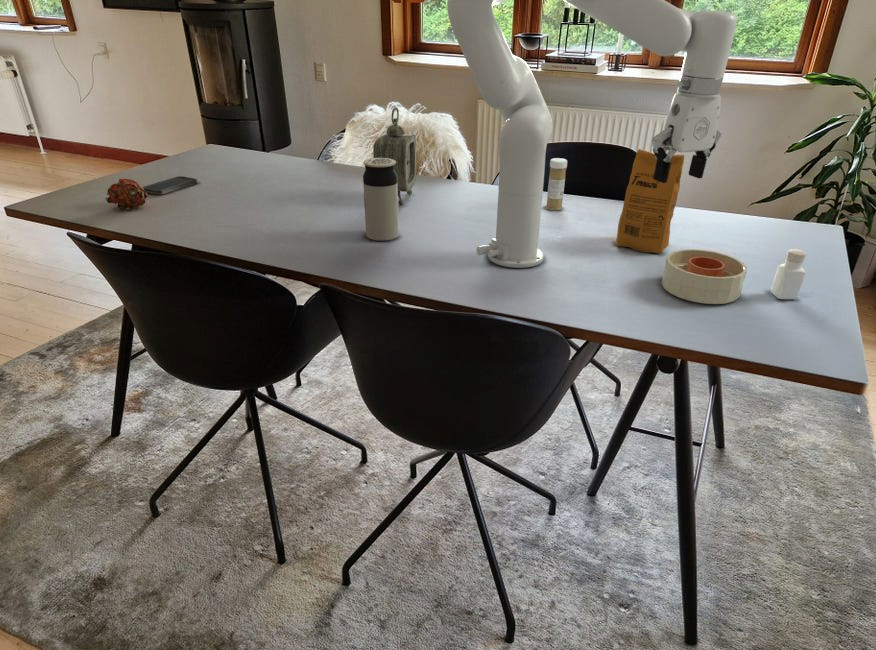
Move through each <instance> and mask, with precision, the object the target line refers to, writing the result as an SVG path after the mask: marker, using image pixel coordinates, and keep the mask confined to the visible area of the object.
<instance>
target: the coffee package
mask: <svg viewBox="0 0 876 650" xmlns="http://www.w3.org/2000/svg"><path fill="white" fill-rule="evenodd" d="M669 162H671V167H670V171H669V176H668V180H667V182H666V183H662V182H659V181H657V180H654V179H653V177H654V172H655V167H656V163H657V159H655V154H654V152H650V151H647V150H642V149H641V148H638V149H637V150H636V154H635V158H634V160H633V164H632V169H631V173H630V176H629V182H628V185H627V187H626V190H625V196H624V201H623V206H622V210H621V213H620V215H619V219H618V224H617V231H616V238H615V245H616V246H617V247H623V248H630V249H632V250H634V251H636V252H641V253H648V254H649V253H651V254H662V253H663V251H664V250H666V249H667V247H668V246H669V244H670V236H671V221H672V219H673V218H674V213H675V212H674V211H675V208H676V205H677V201H678V196H679V193H680V192H679V191H680V187H681V179H682V174H683V166H684V163H685V155H684V154H674V155H673V156H672V158H671V159H670V160H669Z"/></svg>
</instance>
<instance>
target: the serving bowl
mask: <svg viewBox="0 0 876 650" xmlns="http://www.w3.org/2000/svg"><path fill="white" fill-rule="evenodd" d="M693 257H709V258H714V259H717V260H719V261H721V262H723V263H724V264H725V268H724V272H723V276H722V277H711V276H704V275H698V274H694V273H691V272H687V271H686V269H687V264H688V260H689V259H690V258H693ZM747 271H748V266H747V265H746V264H745V262H743V261H742V260H739V259H738V258H736V257H733V256H731V255H728V254H726V253H723V252H718V251H713V250H707V249H697V248H696V249H695V248H689V249H688V248H687V249H680V250H674V251H672V252H670V253H669V254H667V256H666V260H665V265H664V270H663V274H662V278H661V285H662V287H663V289H664V290H666V291H667V292H668V293H669V294H671V295H673V296H675V297H678V298H679V299H683V300H684V301H685V300H686V301H688V302H692V303H698V304H705V305H706V304H707V305H720V304H729V303H732V302H735V301H736V300H738V299H739V298H740V297H741V293H742V290H743V287H744V282H745V278H746V275H747Z"/></svg>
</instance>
